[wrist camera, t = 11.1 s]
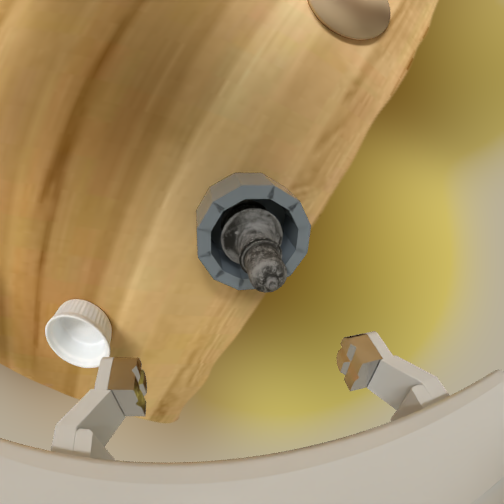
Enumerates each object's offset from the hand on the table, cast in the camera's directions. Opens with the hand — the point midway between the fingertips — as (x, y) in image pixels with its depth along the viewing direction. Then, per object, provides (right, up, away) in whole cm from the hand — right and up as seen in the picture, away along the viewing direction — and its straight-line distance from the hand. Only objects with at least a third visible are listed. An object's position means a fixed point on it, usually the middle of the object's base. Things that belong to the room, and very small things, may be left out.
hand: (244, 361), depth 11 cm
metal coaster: (+11, +31, +11) cm, 34 cm away
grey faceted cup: (0, +7, +21) cm, 22 cm away
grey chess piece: (0, +7, +20) cm, 21 cm away
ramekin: (-22, -5, +23) cm, 32 cm away
